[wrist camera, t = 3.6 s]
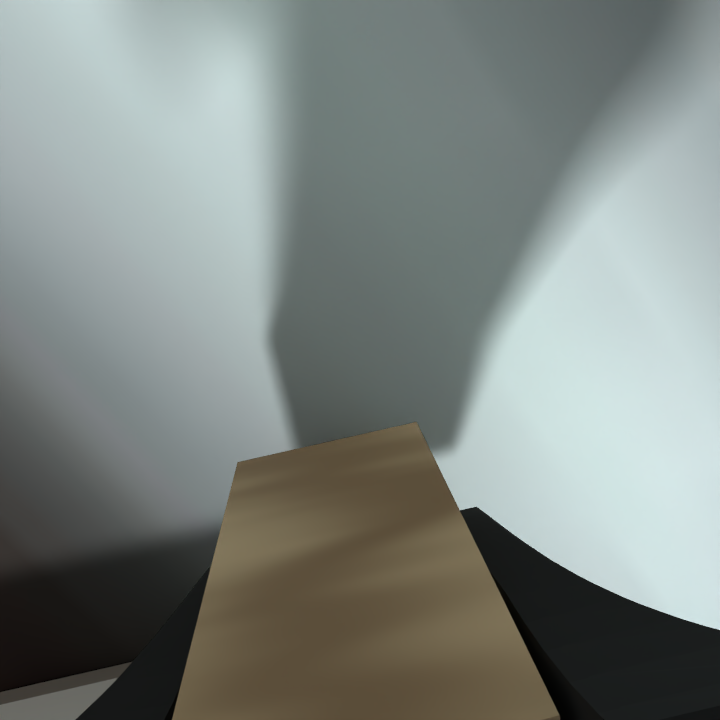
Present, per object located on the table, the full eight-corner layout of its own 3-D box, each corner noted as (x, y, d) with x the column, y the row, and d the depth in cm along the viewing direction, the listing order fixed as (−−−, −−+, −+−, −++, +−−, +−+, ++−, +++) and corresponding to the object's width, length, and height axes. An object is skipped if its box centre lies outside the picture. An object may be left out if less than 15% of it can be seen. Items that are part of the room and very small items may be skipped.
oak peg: (416, 421, 14) (559, 715, 6) (446, 576, 15) (601, 995, 7) (237, 461, 14) (148, 814, 6) (280, 615, 15) (252, 1084, 7)
